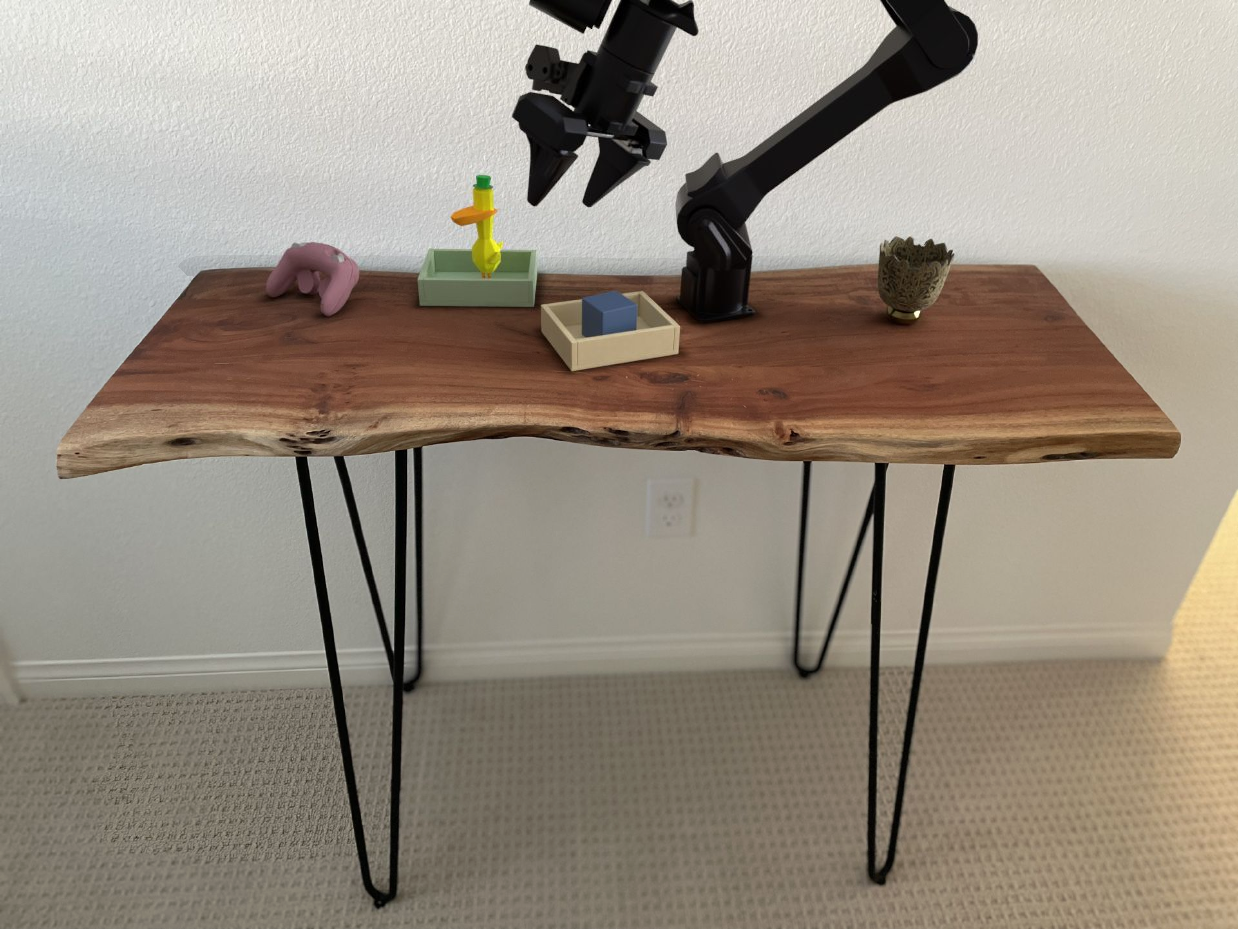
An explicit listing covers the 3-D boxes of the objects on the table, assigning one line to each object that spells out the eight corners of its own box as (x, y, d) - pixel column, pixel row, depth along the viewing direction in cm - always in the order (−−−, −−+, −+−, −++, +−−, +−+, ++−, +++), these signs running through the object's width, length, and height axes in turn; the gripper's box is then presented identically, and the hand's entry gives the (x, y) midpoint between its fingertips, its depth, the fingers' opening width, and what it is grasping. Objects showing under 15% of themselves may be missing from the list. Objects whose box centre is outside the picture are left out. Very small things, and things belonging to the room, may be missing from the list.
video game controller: (356, 321, 100) (370, 256, 98) (324, 316, 96) (339, 249, 94) (292, 299, 104) (305, 237, 103) (259, 294, 100) (272, 229, 99)
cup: (861, 326, 98) (874, 253, 94) (872, 300, 104) (885, 231, 100) (933, 339, 96) (951, 265, 92) (941, 312, 102) (958, 242, 98)
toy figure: (468, 298, 100) (460, 187, 94) (447, 288, 103) (439, 179, 96) (515, 282, 105) (512, 174, 98) (495, 273, 107) (490, 167, 100)
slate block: (615, 326, 96) (616, 290, 93) (636, 341, 93) (637, 304, 91) (581, 334, 94) (581, 297, 92) (602, 350, 91) (602, 312, 89)
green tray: (537, 274, 108) (536, 249, 106) (533, 307, 100) (533, 280, 99) (431, 273, 107) (428, 248, 106) (419, 305, 100) (417, 279, 98)
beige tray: (641, 317, 99) (642, 290, 97) (678, 354, 92) (680, 326, 90) (541, 331, 95) (540, 304, 94) (571, 371, 88) (571, 342, 87)
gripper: (622, 32, 98) (561, 166, 105) (506, -2, 83) (444, 158, 90) (700, 86, 94) (630, 221, 102) (593, 61, 79) (521, 221, 87)
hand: (559, 204), depth 95 cm, fingers open, 9 cm apart
